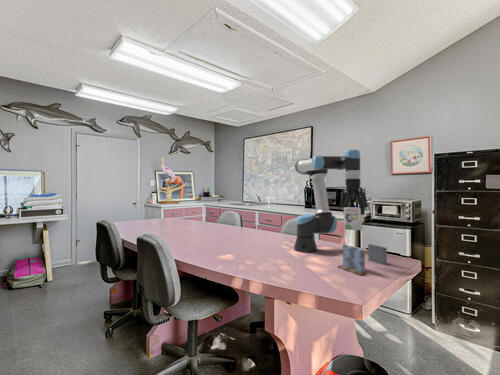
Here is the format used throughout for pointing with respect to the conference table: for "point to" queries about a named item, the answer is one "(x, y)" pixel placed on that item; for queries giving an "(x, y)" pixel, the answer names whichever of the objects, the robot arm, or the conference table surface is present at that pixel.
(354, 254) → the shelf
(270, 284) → the conference table surface
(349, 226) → the ink box
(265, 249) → the conference table surface
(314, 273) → the conference table surface
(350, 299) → the conference table surface
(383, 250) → the bookend
